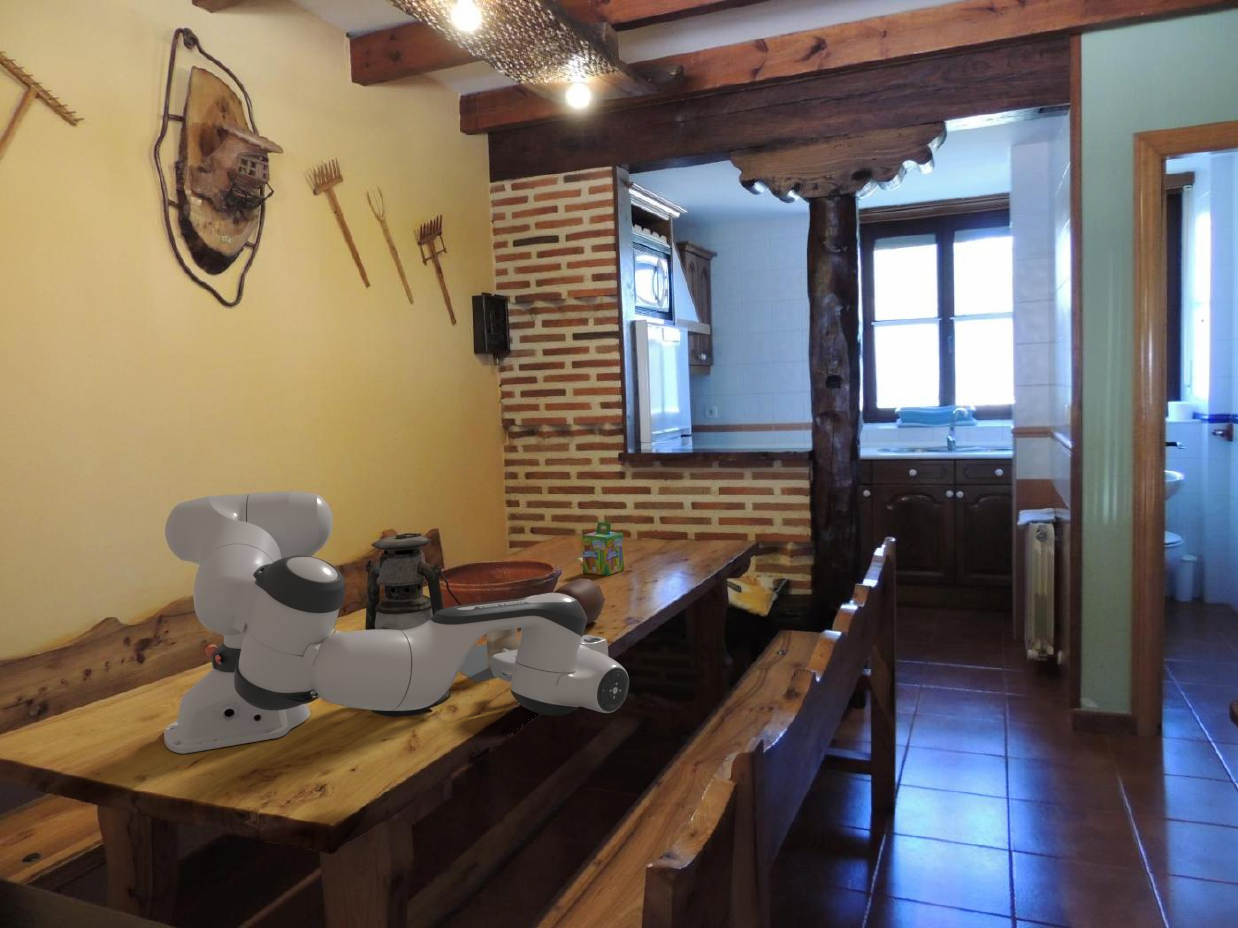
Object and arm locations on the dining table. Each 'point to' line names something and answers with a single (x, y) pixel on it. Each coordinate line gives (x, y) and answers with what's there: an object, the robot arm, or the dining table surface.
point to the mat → (477, 664)
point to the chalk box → (603, 551)
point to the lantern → (403, 593)
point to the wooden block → (500, 642)
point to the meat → (585, 596)
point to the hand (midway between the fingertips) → (528, 647)
